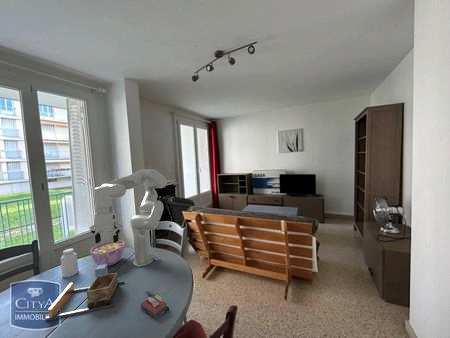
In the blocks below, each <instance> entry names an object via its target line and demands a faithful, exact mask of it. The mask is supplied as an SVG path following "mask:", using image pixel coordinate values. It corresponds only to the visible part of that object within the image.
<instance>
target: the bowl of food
mask: <svg viewBox="0 0 450 338" xmlns="http://www.w3.org/2000/svg"><path fill="white" fill-rule="evenodd" d="M124 250H125V241H124V240H122V239H121V240H120V239H118V241H117V242H116V243H114V242H113V240H108V241H104V242H100V243H97V244H96V245H95V246H93V247H92V248H91V249H90V251H89V252H90V255H91V258H92V260H93V262H94V264H96V265H97V266H98V265H104V264H107V267H110V266H113V265H115V264H116V263H118V262H119V261H120V260H121V259H122V257H124V252H125V251H124Z"/></svg>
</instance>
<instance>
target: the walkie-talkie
mask: <svg viewBox="0 0 450 338" xmlns="http://www.w3.org/2000/svg"><path fill="white" fill-rule="evenodd" d="M145 293H146V294H147V295H149V297H148V298H146V299H145V300H143V301H142V302H141V303H140V310H141V311H143V310H144V311H145V312H146V313H145V312H144V311H143V312H144V313H145V314H147V313H148V314H147V315H148V316H149V315H150V316H149V317H151V318H152V319H153V318H154V319H155V320H157V318H158V317H159V318H160V317H162V316H163V315H164V314H165V313H167V312H169V311H170V307H169V306H168V305H167V303H164V301H163V298H162V297H161V296H160V295H159V294H156V295H155V294H153V293H152V292H151V291H149V290H146V292H145ZM166 311H167V312H166ZM163 313H164V314H163ZM162 314H163V315H162ZM159 318H158V319H159ZM154 319H153V320H154Z"/></svg>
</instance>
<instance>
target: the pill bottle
mask: <svg viewBox="0 0 450 338" xmlns="http://www.w3.org/2000/svg"><path fill="white" fill-rule="evenodd" d="M78 262H79V261H78V254H77V252H75V249H74V248H67V249H64V250H63V251H62V256H61V257H60V266H61V275H62V278H70V277H73V276H75V275H76V274H78V273H79V263H78Z"/></svg>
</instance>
